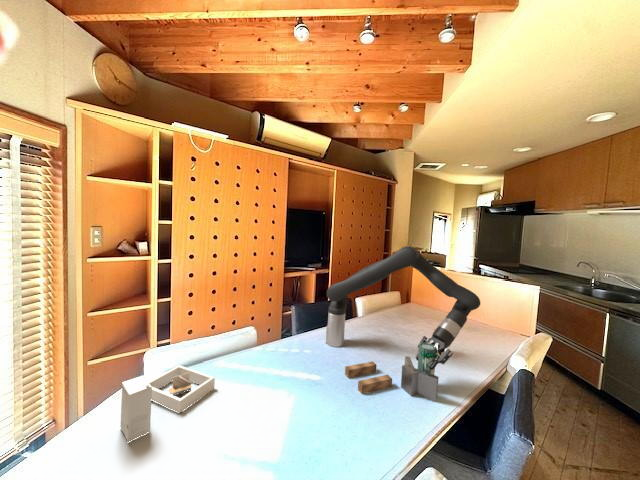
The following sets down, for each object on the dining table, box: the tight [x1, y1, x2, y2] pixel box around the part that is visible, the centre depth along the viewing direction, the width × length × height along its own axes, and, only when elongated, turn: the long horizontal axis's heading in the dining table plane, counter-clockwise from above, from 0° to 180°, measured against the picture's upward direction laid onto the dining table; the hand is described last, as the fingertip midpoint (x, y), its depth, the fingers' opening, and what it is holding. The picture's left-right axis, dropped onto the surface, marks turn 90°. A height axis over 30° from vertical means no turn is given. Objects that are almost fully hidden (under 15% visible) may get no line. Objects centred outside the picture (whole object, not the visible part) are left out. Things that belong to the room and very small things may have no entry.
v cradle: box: [400, 355, 439, 403], centre depth 104 cm, size 8×18×9 cm, turn 22°
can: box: [417, 342, 436, 375], centre depth 106 cm, size 6×6×15 cm
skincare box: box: [119, 375, 152, 443], centre depth 78 cm, size 8×6×15 cm
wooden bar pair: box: [344, 360, 393, 395], centre depth 109 cm, size 14×14×4 cm
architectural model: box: [168, 373, 192, 395], centre depth 95 cm, size 3×7×7 cm, turn 130°
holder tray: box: [148, 364, 216, 413], centre depth 97 cm, size 19×15×4 cm
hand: (423, 364), depth 105 cm, fingers closed on can, 6 cm apart
